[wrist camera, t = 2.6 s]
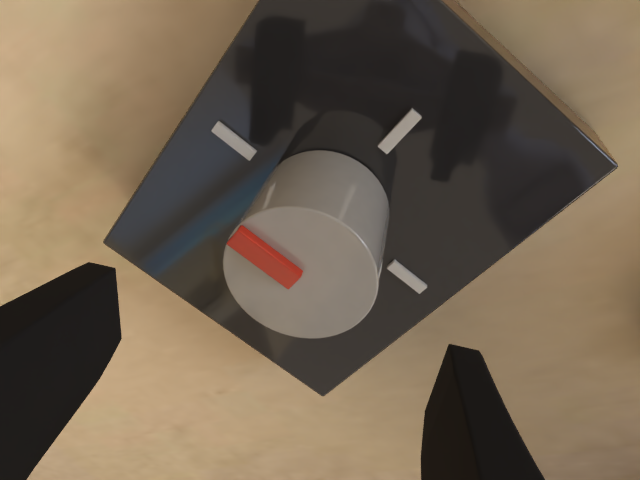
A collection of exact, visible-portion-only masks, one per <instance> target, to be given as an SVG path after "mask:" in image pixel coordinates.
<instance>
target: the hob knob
mask: <svg viewBox="0 0 640 480" xmlns="http://www.w3.org/2000/svg"><path fill="white" fill-rule="evenodd" d="M389 219H390V209H389V202H388V199H387V196H386V193H385V191H384V189H383V187H382V185H381V184H380V182H379V180H378V179H377V178H376V177H375V175H374V174H373V173H372V172H371V171H370V170H369V169H368V168H366V167H365V166H364V165H362V164H361V163H360V162H358V161H356V160H354V159H353V158H351V157H348V156H346V155H343V154H340V153H336V152H332V151H322V150H315V151H306V152H302V153H299V154H296V155H293V156H291V157H289V158H287V159H286V160H284V161H283V162H281V163H280V164H279V165H277V166H276V167H275V169H274V170H273V171H272V172H271V173H270V175H269V176H268V178H267V179H266V181H265V182H264V184H263V185H262V187H261V188H260V190H259V192H258V193H257V195H256V196H255V198H254V199H253V201H252V202H251V204H250V206H249V207H248V209H247V210H246V212H245V213H244V215H243V216H242V218H241V219H240V221H239V223H238V224H237V226H236V227H235V229H234V230H233V232H232V233H231V235H230V237H229V239H228V241H227V243H226V246H225V250H224V256H223V270H224V275H225V279H226V282H227V285H228V288H229V290H230V292H231V294H232V295H233V297H234V298H235V300H236V301H237V303H238V304H239V305H240V306H241V308H242V309H243V310H244V311H245V312H246V313H247V314H248V315H250V316H251V317H252V318H253V319H255V320H256V321H258V322H259V323H261V324H262V325H264V326H266V327H268V328H270V329H272V330H274V331H276V332H279V333H282V334H285V335H289V336H293V337H298V338H309V339H311V338H325V337H330V336H334V335H338V334H340V333H343V332H345V331H347V330H349V329H351V328H353V327H354V326H355V325H357V324H358V323H359V322H360V321H361V320H363V319H364V318H365V317H366V315H367V314H368V313H369V311H370V310H371V308H372V307H373V305H374V303H375V300H376V297H377V294H378V288H379V281H380V275H381V269H382V263H383V257H384V250H385V244H386V238H387V232H388V225H389Z"/></svg>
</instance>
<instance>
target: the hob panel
mask: <svg viewBox="0 0 640 480" xmlns="http://www.w3.org/2000/svg"><path fill="white" fill-rule="evenodd" d="M315 150H322V151H332V152H336V153H340V154H343V155H346V156H348V157H351V158H353V159H354V160H356V161H358V162H360V163H361V164H362V165H364V166H365V167H366V168H368V169H369V170H370V171H371V172H372V173H373V174H374V175H375V177H376V178H377V179H378V180H379V182H380V184H381V185H382V187H383V189H384V191H385V193H386V196H387V199H388V202H389V209H390V219H389V225H388V232H387V238H386V244H385V250H384V257H383V263H382V269H381V275H380V281H379V288H378V294H377V297H376V300H375V303H374V305H373V307H372V308H371V310H370V311H369V313H368V314H367V315H366V317H365V318H364V319H363V320H361V321H360V322H359V323H358V324H357V325H355V326H354V327H353V328H351V329H349V330H347V331H345V332H343V333H340V334H338V335H334V336H330V337H325V338H311V339H309V338H298V337H293V336H289V335H285V334H282V333H279V332H276V331H274V330H272V329H270V328H268V327H266V326H264V325H262V324H261V323H259V322H258V321H256V320H255V319H253V318H252V317H251V316H250V315H248V314H247V313H246V312H245V311H244V310H243V309H242V308H241V306H240V305H239V304H238V303H237V301H236V300H235V298H234V297H233V295H232V294H231V292H230V290H229V288H228V285H227V282H226V279H225V275H224V270H223V256H224V250H225V246H226V243H227V241H228V239H229V237H230V235H231V233H232V232H233V230H234V229H235V227H236V226H237V224H238V223H239V221H240V219H241V218H242V216H243V215H244V213H245V212H246V210H247V209H248V207H249V206H250V204H251V202H252V201H253V199H254V198H255V196H256V195H257V193H258V192H259V190H260V188H261V187H262V185H263V184H264V182H265V181H266V179H267V178H268V176H269V175H270V173H271V172H272V171H273V170H274V169H275V167H276V166H277V165H279V164H280V163H281V162H283V161H284V160H286V159H287V158H289V157H291V156H293V155H296V154H299V153H302V152H306V151H315ZM617 167H618V164H617V162H616V161H615V159H614V158H613V157H612V155H611V154H610V152H609V151H608V150H607V148H606V147H605V145H604V144H603V142H602V141H601V140H600V138H599V137H598V135H597V134H596V133H595V131H593V130H592V129H591V128H590V127H589V126H588V125H587V124H586V123H585V122H584V121H583V120H582V119H581V118H580V117H579V116H577V115H576V114H575V113H574V112H573V111H572V110H571V109H570V108H569V107H568V106H567V105H566V104H565V103H564V102H563V101H561V100H560V99H559V98H558V97H557V96H556V95H555V94H554V93H553V92H552V91H551V90H550V89H549V88H548V87H547V86H545V85H544V84H543V83H542V82H541V81H540V80H539V79H538V78H537V77H536V76H535V75H534V74H533V73H532V72H531V71H529V70H528V69H527V68H526V67H525V66H524V65H523V64H522V63H521V62H520V61H519V60H518V59H517V58H516V57H515V56H514V55H512V54H511V53H510V52H509V51H508V50H507V49H506V48H505V47H504V46H503V45H502V44H501V43H500V42H499V41H498V40H496V39H495V38H494V37H493V36H492V35H491V34H490V33H489V32H488V31H487V30H486V29H485V28H484V27H483V26H482V25H480V24H479V23H478V22H477V21H476V20H475V19H474V18H473V17H472V16H471V15H470V14H469V13H468V12H467V11H466V10H464V9H463V8H462V7H461V6H460V5H459V4H458V3H457V2H456V1H455V0H259V1H258V2H257V4H256V5H255V7H254V9H253V10H252V12H251V13H250V15H249V16H248V18H247V19H246V21H245V22H244V24H243V26H242V27H241V29H240V30H239V32H238V33H237V35H236V36H235V38H234V39H233V41H232V43H231V44H230V46H229V47H228V49H227V50H226V52H225V53H224V55H223V56H222V58H221V60H220V61H219V63H218V64H217V66H216V67H215V69H214V70H213V72H212V73H211V75H210V77H209V78H208V80H207V81H206V83H205V84H204V86H203V87H202V89H201V90H200V92H199V94H198V95H197V97H196V98H195V100H194V101H193V103H192V104H191V106H190V107H189V109H188V111H187V112H186V114H185V115H184V117H183V118H182V120H181V121H180V123H179V125H178V126H177V128H176V129H175V131H174V132H173V134H172V135H171V137H170V138H169V140H168V142H167V143H166V145H165V146H164V148H163V149H162V151H161V152H160V154H159V155H158V157H157V159H156V160H155V162H154V163H153V165H152V166H151V168H150V169H149V171H148V172H147V174H146V176H145V177H144V179H143V180H142V182H141V183H140V185H139V186H138V188H137V189H136V191H135V193H134V194H133V196H132V197H131V199H130V200H129V202H128V203H127V205H126V206H125V208H124V210H123V211H122V213H121V214H120V216H119V217H118V219H117V220H116V222H115V223H114V225H113V227H112V228H111V230H110V231H109V233H108V234H107V236H106V237H105V239H104V241H103V243H104V244H105V245H107V246H108V247H109V248H111V249H112V250H114V251H115V252H117V253H118V254H119V255H121V256H122V257H124V258H125V259H127V260H128V261H129V262H131V263H132V264H134V265H135V266H137V267H138V268H139V269H141V270H142V271H144V272H145V273H147V274H148V275H149V276H151V277H152V278H154V279H155V280H157V281H158V282H159V283H161V284H162V285H164V286H165V287H167V288H168V289H170V290H171V291H172V292H174V293H175V294H177V295H178V296H180V297H181V298H182V299H184V300H185V301H187V302H188V303H190V304H191V305H192V306H194V307H195V308H197V309H198V310H200V311H201V312H202V313H204V314H205V315H207V316H208V317H210V318H211V319H212V320H214V321H215V322H217V323H218V324H220V325H221V326H222V327H224V328H225V329H227V330H228V331H230V332H231V333H232V334H234V335H235V336H237V337H238V338H240V339H241V340H242V341H244V342H245V343H247V344H248V345H250V346H251V347H252V348H254V349H255V350H257V351H258V352H260V353H261V354H262V355H264V356H265V357H267V358H268V359H270V360H271V361H272V362H274V363H275V364H277V365H278V366H280V367H281V368H282V369H284V370H285V371H287V372H288V373H290V374H291V375H292V376H294V377H295V378H297V379H298V380H300V381H301V382H302V383H304V384H305V385H307V386H308V387H310V388H311V389H312V390H314V391H315V392H317V393H318V394H320V395H321V396H325V395H326V394H327V393H329V392H330V391H331V390H333V389H334V388H335V387H336V386H338V385H339V384H340V383H342V382H343V381H344V380H345V379H347V378H348V377H349V376H351V375H352V374H353V373H354V372H356V371H357V370H358V369H360V368H361V367H362V366H363V365H365V364H366V363H367V362H369V361H370V360H371V359H372V358H374V357H375V356H376V355H377V354H379V353H380V352H381V351H383V350H384V349H385V348H386V347H388V346H389V345H390V344H392V343H393V342H394V341H395V340H397V339H398V338H399V337H401V336H402V335H403V334H404V333H406V332H407V331H408V330H410V329H411V328H412V327H413V326H415V325H416V324H417V323H419V322H420V321H421V320H422V319H424V318H425V317H426V316H428V315H429V314H430V313H431V312H433V311H434V310H435V309H437V308H438V307H439V306H440V305H442V304H443V303H444V302H446V301H447V300H448V299H449V298H451V297H452V296H453V295H455V294H456V293H457V292H458V291H460V290H461V289H462V288H464V287H465V286H466V285H467V284H469V283H470V282H471V281H473V280H474V279H475V278H476V277H478V276H479V275H480V274H482V273H483V272H484V271H485V270H487V269H488V268H489V267H491V266H492V265H493V264H494V263H496V262H497V261H498V260H500V259H501V258H502V257H503V256H505V255H506V254H507V253H509V252H510V251H511V250H512V249H514V248H515V247H516V246H517V245H519V244H520V243H521V242H523V241H524V240H525V239H526V238H528V237H529V236H530V235H532V234H533V233H534V232H535V231H537V230H538V229H539V228H541V227H542V226H543V225H544V224H546V223H547V222H548V221H550V220H551V219H552V218H553V217H555V216H556V215H557V214H559V213H560V212H561V211H562V210H564V209H565V208H566V207H568V206H569V205H570V204H571V203H573V202H574V201H575V200H577V199H578V198H579V197H580V196H582V195H583V194H584V193H586V192H587V191H588V190H589V189H591V188H592V187H593V186H595V185H596V184H597V183H598V182H600V181H601V180H602V179H604V178H605V177H606V176H607V175H609V174H610V173H611V172H613V171H614V170H615V169H616V168H617Z"/></svg>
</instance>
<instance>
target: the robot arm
mask: <svg viewBox="0 0 640 480" xmlns="http://www.w3.org/2000/svg"><path fill="white" fill-rule="evenodd" d="M121 339H122V338H121V326H120V315H119V304H118V292H117V281H116V269H115V268H112V267H108V266H104V265H99V264H95V263H90V262H88V263H86V264H84V265H82V266H79V267H77V268H75V269H73V270H71V271H69V272H67V273H65V274H63V275H61V276H59V277H57V278H55V279H53V280H52V281H50V282H48V283H46V284H44V285H42V286H40V287H38V288H36V289H34V290H32V291H30V292H28V293H26V294H24V295H22V296H20V297H18V298H16V299H14V300H12V301H10V302H8V303H6V304H4V305H2V306H0V480H26V479H27V478H28V477H29V475H30V474H31V472H32V471H33V469H34V468H35V466H36V465H37V464H38V462H39V461H40V460H41V458H42V457H43V455H44V454H45V453H46V451H47V450H48V449H49V447H50V446H51V445H52V443H53V442H54V441H55V439H56V438H57V437H58V435H59V434H60V432H61V431H62V430H63V428H64V427H65V426H66V424H67V423H68V422H69V420H70V419H71V418H72V416H73V415H74V414H75V412H76V411H77V409H78V408H79V407H80V405H81V404H82V403H83V401H84V400H85V398H86V397H87V396H88V394H89V393H90V392H91V390H92V389H93V387H94V386H95V385H96V383H97V382H98V380H99V379H100V377H101V375H102V374H103V372H104V370H105V368H106V367H107V365H108V363H109V361H110V360H111V358H112V356H113V354H114V352H115V350H116V348H117V346H118V344H119V343H120V341H121ZM421 480H545V479H544V477H543V475H542V474H541V472H540V470H539V469H538V467H537V465H536V463H535V462H534V460H533V458H532V456H531V454H530V453H529V451H528V449H527V447H526V445H525V443H524V442H523V440H522V438H521V436H520V434H519V432H518V430H517V428H516V426H515V425H514V423H513V421H512V419H511V417H510V415H509V413H508V411H507V409H506V407H505V405H504V403H503V400H502V398H501V396H500V394H499V392H498V390H497V388H496V386H495V383H494V381H493V379H492V377H491V374H490V372H489V370H488V368H487V365H486V363H485V361H484V358H483V356H482V355H481V353H480V352H479V351H478V350H474V349H469V348H465V347H460V346H456V345H452V344H449V345H448V348H447V351H446V353H445V356H444V359H443V362H442V365H441V368H440V370H439V373H438V376H437V379H436V382H435V384H434V387H433V390H432V393H431V396H430V398H429V401H428V404H427V407H426V410H425V417H424V427H423V438H422V450H421Z"/></svg>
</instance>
